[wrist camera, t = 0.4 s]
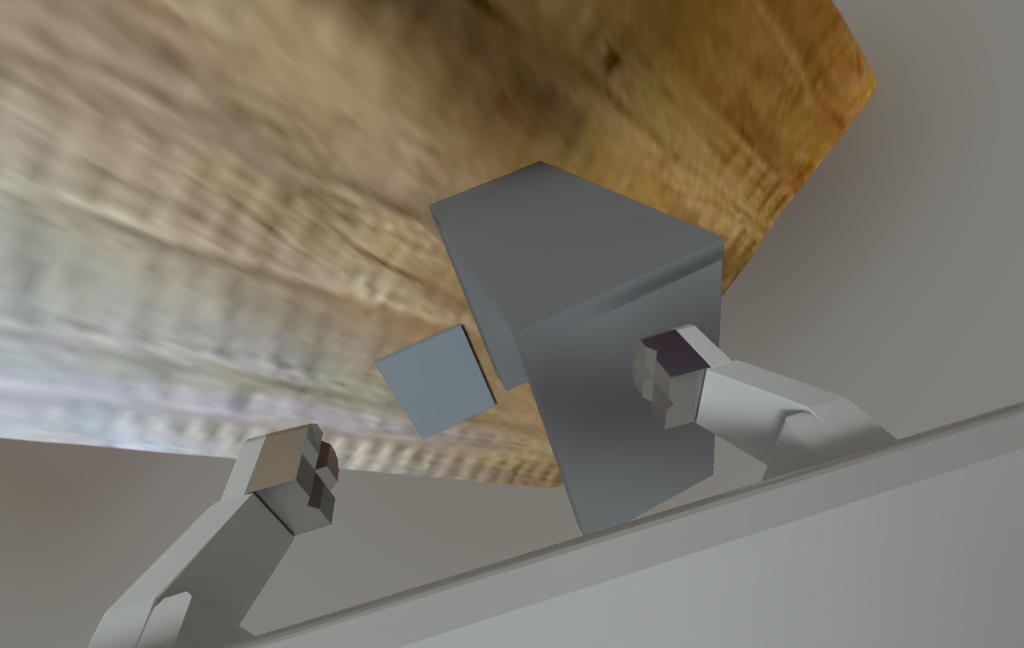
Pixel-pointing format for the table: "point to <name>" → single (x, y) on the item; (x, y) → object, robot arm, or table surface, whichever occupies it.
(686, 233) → the grey c-shaped bracket
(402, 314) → the table surface
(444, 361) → the mat
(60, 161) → the table surface
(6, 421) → the table surface
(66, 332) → the table surface
